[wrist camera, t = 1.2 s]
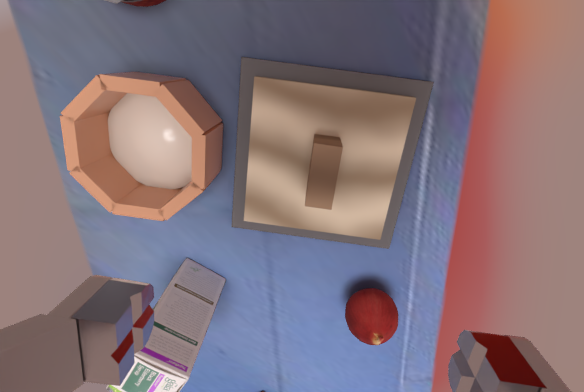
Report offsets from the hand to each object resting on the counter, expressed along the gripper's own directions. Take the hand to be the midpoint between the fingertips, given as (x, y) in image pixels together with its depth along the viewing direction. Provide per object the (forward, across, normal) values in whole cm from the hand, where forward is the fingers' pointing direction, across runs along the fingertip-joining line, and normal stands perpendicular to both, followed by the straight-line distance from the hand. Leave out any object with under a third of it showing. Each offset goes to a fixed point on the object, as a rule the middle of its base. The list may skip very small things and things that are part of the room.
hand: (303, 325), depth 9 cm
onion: (+28, -9, +18) cm, 35 cm away
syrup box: (+28, +12, +20) cm, 37 cm away
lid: (+27, -1, +2) cm, 27 cm away
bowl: (+27, +16, +2) cm, 32 cm away
